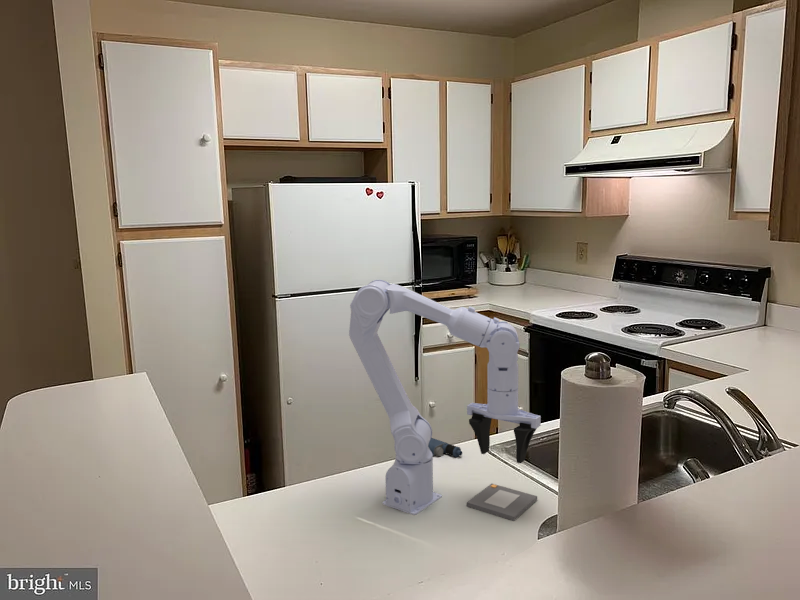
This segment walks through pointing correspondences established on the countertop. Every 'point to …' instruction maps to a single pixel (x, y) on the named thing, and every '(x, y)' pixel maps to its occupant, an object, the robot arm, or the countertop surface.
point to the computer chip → (502, 501)
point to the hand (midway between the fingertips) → (502, 456)
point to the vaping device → (443, 448)
